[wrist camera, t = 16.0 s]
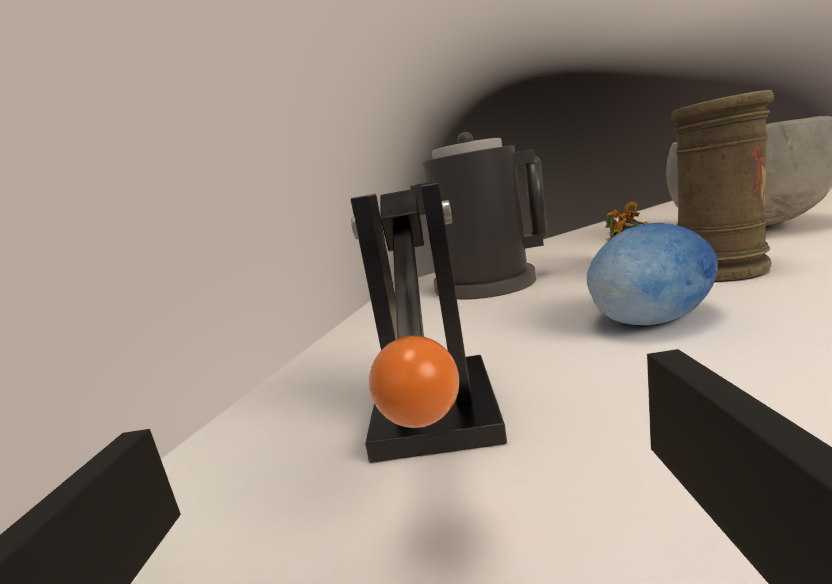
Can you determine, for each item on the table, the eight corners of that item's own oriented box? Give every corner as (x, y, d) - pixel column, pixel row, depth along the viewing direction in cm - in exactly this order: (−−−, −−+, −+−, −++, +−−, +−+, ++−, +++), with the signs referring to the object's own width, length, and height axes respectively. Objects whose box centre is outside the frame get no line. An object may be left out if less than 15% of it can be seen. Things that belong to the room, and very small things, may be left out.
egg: (730, 185, 37) (623, 224, 31) (778, 274, 36) (678, 334, 30) (646, 226, 45) (546, 263, 39) (684, 300, 44) (587, 352, 38)
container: (704, 286, 44) (702, 99, 39) (657, 269, 52) (652, 115, 48) (795, 272, 43) (804, 81, 39) (732, 257, 52) (734, 100, 47)
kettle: (429, 306, 53) (400, 137, 48) (427, 281, 67) (405, 147, 62) (567, 284, 52) (552, 110, 47) (537, 264, 66) (523, 126, 61)
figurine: (618, 253, 63) (615, 198, 62) (672, 267, 52) (671, 200, 50) (598, 257, 63) (595, 202, 61) (648, 272, 52) (646, 204, 50)
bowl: (881, 224, 55) (893, 100, 51) (712, 248, 58) (712, 132, 54) (768, 212, 75) (772, 122, 71) (646, 230, 77) (643, 144, 74)
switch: (468, 437, 17) (461, 385, 14) (379, 450, 17) (357, 400, 15) (432, 226, 28) (425, 177, 26) (379, 235, 28) (366, 187, 26)
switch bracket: (507, 443, 24) (471, 177, 20) (369, 463, 24) (311, 205, 21) (482, 369, 34) (456, 179, 30) (384, 383, 34) (346, 198, 31)
